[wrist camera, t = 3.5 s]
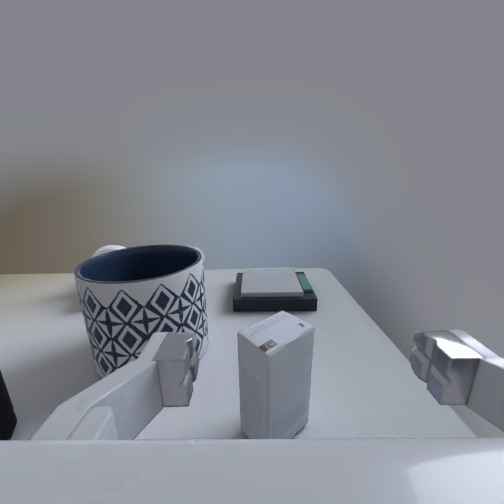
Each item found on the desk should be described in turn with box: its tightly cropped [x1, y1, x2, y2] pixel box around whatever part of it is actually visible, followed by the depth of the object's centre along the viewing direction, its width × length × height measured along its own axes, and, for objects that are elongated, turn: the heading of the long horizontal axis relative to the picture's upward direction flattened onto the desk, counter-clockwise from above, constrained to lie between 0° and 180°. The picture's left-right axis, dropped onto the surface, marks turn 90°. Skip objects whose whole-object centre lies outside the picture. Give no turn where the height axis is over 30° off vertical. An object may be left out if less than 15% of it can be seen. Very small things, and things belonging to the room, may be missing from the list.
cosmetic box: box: [238, 311, 314, 439], centre depth 25 cm, size 6×4×12 cm
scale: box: [233, 270, 317, 311], centre depth 56 cm, size 16×14×4 cm
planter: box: [74, 245, 208, 378], centre depth 37 cm, size 16×16×14 cm
